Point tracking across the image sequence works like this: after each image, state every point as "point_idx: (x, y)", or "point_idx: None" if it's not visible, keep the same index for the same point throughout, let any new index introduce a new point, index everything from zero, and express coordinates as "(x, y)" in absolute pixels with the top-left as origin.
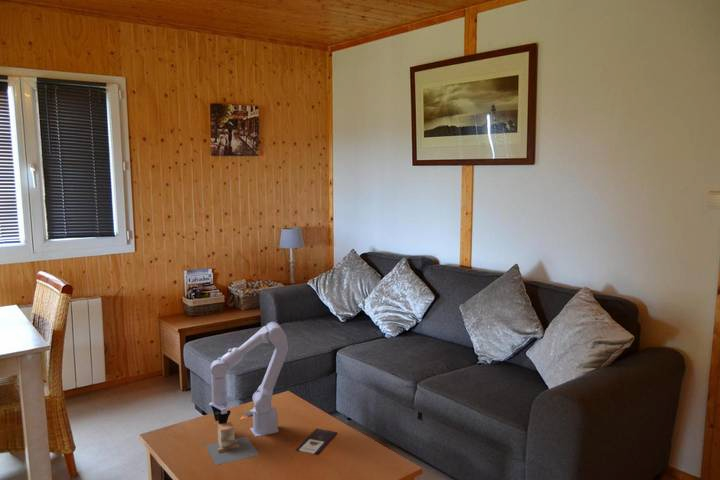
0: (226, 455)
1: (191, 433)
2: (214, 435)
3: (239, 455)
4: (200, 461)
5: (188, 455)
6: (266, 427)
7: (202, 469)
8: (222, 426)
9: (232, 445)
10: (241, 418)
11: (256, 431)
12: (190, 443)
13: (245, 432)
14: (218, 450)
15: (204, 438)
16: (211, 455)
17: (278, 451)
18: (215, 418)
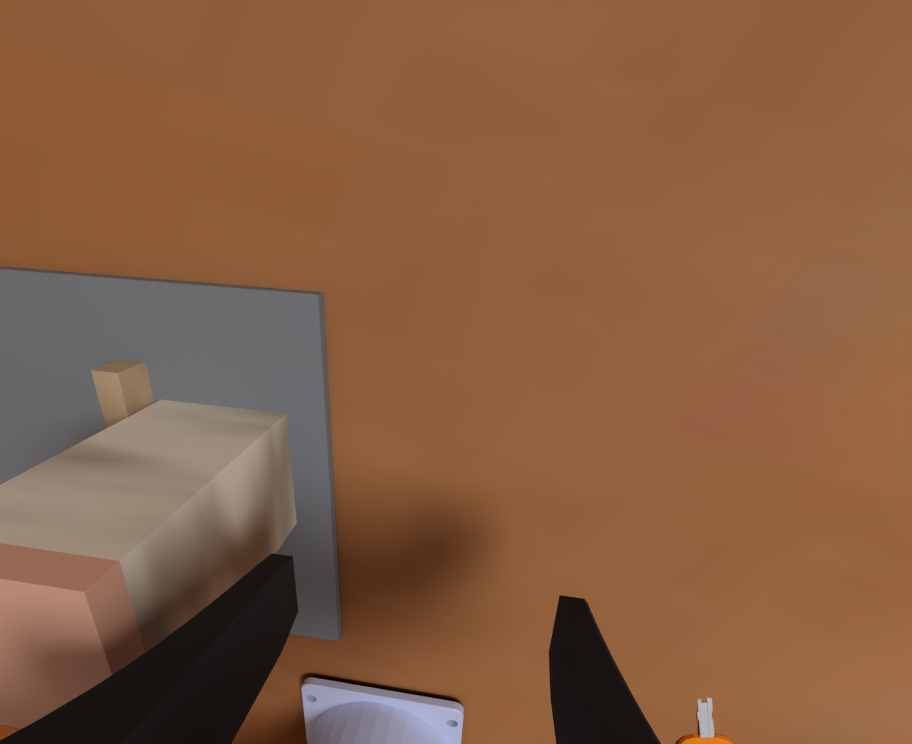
0: (61, 404)
1: (771, 237)
2: (530, 449)
3: None
4: (23, 146)
5: (189, 38)
6: None
7: None
8: (4, 622)
9: None
10: (709, 737)
11: (334, 724)
12: (491, 147)
13: (432, 658)
14: (96, 369)
15: (524, 340)
16: (88, 285)
17: None
18: (568, 635)
